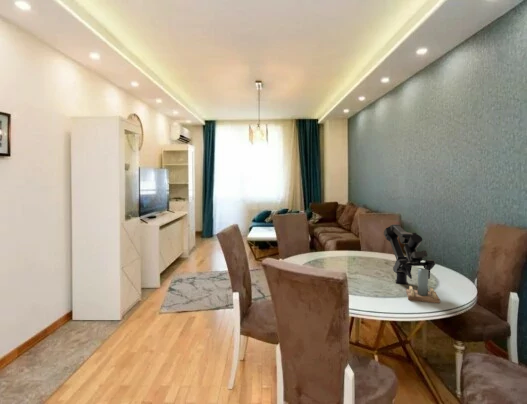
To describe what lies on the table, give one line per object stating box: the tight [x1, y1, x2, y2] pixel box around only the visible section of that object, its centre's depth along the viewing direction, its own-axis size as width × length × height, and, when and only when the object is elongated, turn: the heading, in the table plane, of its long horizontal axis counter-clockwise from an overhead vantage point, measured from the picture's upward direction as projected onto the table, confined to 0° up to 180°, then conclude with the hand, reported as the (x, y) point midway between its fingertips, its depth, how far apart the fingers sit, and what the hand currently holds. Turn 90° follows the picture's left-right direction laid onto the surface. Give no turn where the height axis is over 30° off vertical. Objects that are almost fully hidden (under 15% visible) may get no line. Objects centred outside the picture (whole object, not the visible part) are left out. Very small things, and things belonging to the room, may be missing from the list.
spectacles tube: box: [416, 267, 429, 296], centre depth 166 cm, size 5×5×13 cm
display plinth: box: [405, 285, 440, 304], centre depth 167 cm, size 12×14×4 cm
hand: (420, 278), depth 169 cm, fingers open, 9 cm apart
